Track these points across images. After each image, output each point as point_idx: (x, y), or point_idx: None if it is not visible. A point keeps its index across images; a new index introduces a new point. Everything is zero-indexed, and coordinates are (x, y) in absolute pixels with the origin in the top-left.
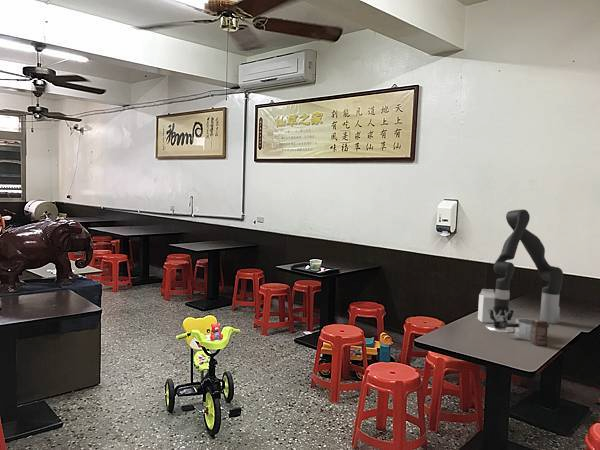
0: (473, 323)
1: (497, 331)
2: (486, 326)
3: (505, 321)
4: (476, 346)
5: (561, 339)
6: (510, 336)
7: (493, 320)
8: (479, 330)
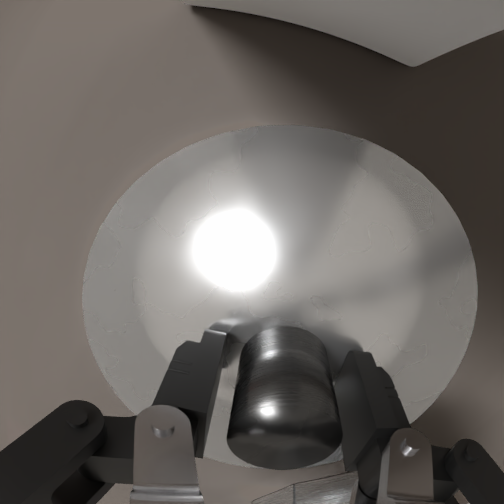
0: (29, 68)
1: None
2: (95, 271)
3: (364, 465)
4: None
5: (462, 501)
6: (204, 499)
7: (417, 49)
8: (6, 346)
